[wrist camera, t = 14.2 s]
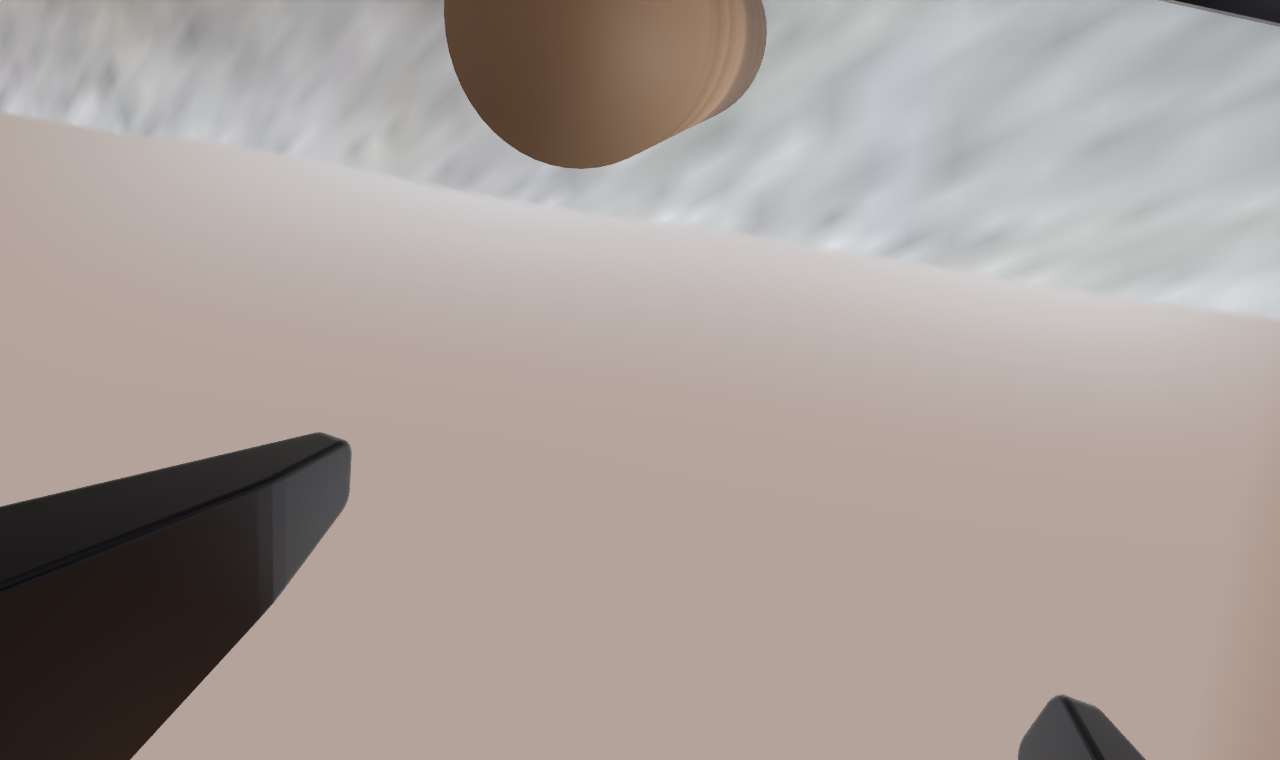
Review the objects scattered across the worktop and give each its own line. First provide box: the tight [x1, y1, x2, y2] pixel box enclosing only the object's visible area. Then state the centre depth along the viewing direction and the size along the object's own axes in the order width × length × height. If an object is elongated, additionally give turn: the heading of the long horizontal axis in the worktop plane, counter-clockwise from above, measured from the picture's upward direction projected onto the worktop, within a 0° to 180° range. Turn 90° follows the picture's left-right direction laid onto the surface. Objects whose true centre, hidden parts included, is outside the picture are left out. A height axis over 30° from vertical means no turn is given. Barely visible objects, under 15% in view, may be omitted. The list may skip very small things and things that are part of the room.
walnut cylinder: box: [444, 0, 767, 169], centre depth 14 cm, size 4×4×9 cm
